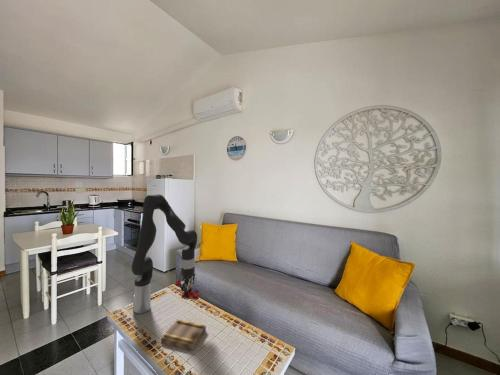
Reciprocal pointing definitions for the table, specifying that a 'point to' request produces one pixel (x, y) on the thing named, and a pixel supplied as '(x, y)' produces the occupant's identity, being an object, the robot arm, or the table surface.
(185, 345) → the platform
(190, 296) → the toy fire truck
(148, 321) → the table surface
